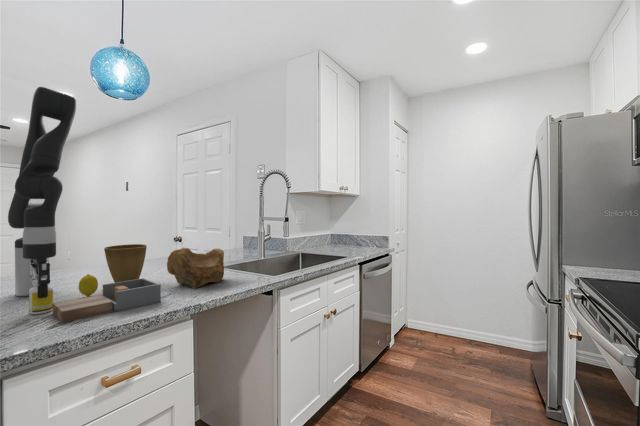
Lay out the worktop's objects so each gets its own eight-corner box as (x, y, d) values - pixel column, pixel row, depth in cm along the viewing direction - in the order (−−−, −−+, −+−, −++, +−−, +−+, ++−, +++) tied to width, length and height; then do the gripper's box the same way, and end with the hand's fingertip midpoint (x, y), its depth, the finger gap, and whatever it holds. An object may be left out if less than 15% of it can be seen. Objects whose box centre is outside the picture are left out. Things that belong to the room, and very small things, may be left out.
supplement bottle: (57, 310, 96) (57, 278, 96) (36, 315, 91) (36, 282, 91) (45, 308, 98) (45, 277, 98) (24, 313, 93) (24, 280, 92)
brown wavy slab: (52, 313, 93) (52, 303, 93) (100, 303, 102) (100, 294, 102) (62, 322, 86) (62, 311, 85) (112, 311, 95) (112, 301, 95)
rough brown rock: (172, 295, 116) (174, 255, 115) (164, 282, 129) (166, 247, 128) (232, 288, 130) (235, 252, 129) (220, 277, 143) (222, 245, 142)
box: (99, 303, 103) (99, 285, 103) (143, 294, 114) (143, 278, 114) (114, 312, 94) (114, 292, 94) (160, 301, 105) (160, 284, 105)
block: (114, 286, 102) (123, 285, 104) (114, 302, 102) (123, 300, 104) (120, 289, 99) (128, 287, 101) (120, 305, 99) (128, 303, 101)
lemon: (87, 299, 107) (87, 276, 107) (74, 298, 109) (74, 275, 108) (101, 295, 113) (101, 273, 113) (89, 294, 114) (89, 272, 114)
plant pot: (118, 280, 135) (118, 244, 135) (153, 280, 136) (153, 244, 136) (95, 289, 120) (95, 248, 120) (135, 289, 121) (135, 248, 121)
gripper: (61, 242, 92) (61, 297, 92) (51, 239, 101) (51, 288, 102) (26, 244, 86) (26, 302, 87) (19, 240, 96) (19, 293, 96)
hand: (39, 295), depth 94 cm, fingers open, 8 cm apart
